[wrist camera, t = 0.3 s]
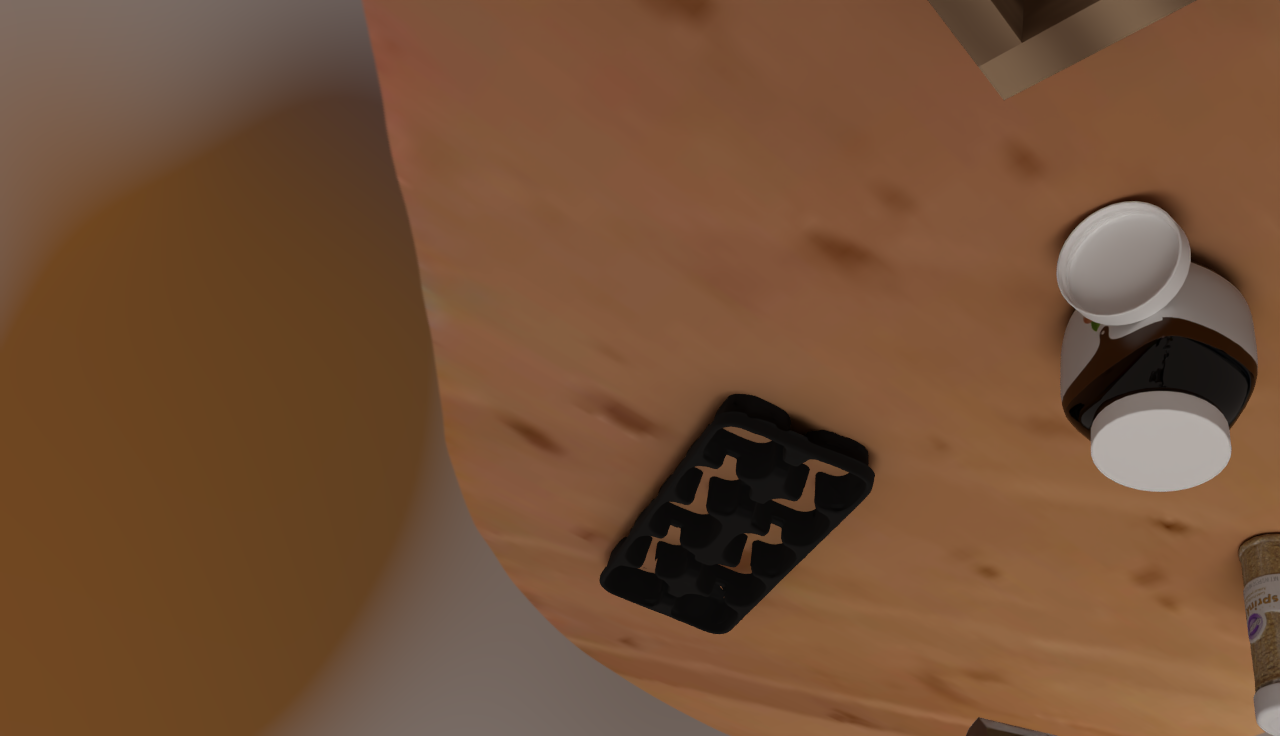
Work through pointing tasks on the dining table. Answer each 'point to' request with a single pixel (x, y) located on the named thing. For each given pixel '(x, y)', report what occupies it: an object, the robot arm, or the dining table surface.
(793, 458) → the egg carton
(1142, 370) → the spread jar
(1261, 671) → the sprinkles bottle
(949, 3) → the block
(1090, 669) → the dining table surface
